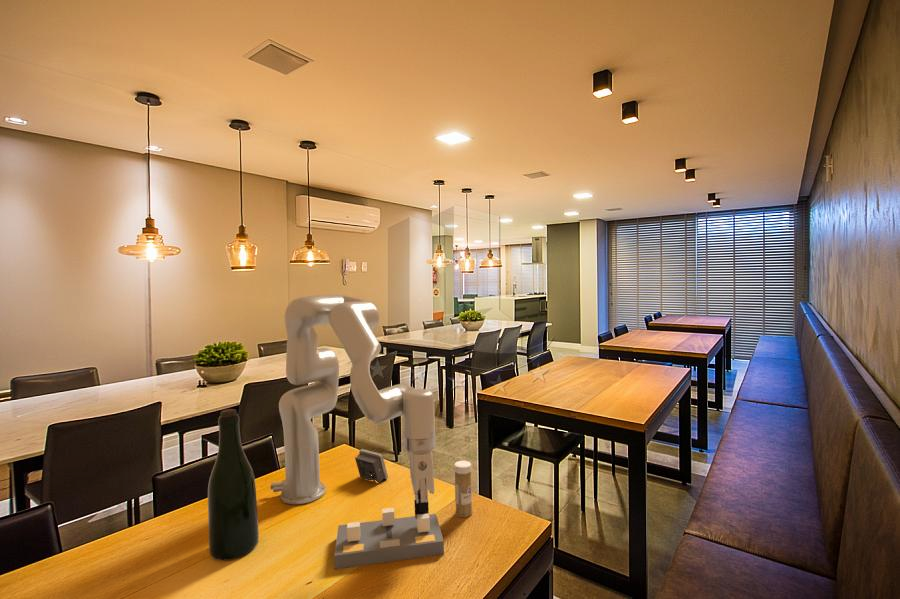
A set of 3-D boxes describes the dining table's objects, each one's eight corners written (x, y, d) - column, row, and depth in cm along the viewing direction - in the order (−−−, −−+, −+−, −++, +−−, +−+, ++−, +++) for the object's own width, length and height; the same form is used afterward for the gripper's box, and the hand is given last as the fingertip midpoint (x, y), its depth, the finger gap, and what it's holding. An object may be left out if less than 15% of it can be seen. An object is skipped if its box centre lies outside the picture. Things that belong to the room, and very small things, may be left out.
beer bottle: (204, 566, 96) (196, 419, 95) (215, 539, 106) (209, 406, 105) (255, 557, 99) (248, 414, 98) (262, 532, 109) (256, 402, 108)
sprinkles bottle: (470, 519, 112) (468, 467, 112) (453, 516, 114) (451, 466, 113) (474, 510, 117) (473, 460, 116) (458, 507, 118) (456, 459, 118)
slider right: (417, 532, 101) (417, 519, 101) (417, 527, 103) (416, 514, 103) (429, 531, 101) (429, 517, 101) (428, 526, 103) (428, 513, 103)
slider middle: (382, 526, 104) (382, 513, 104) (382, 521, 106) (382, 508, 106) (394, 524, 104) (394, 511, 104) (394, 520, 106) (393, 507, 106)
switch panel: (334, 569, 94) (334, 555, 94) (338, 537, 106) (338, 525, 106) (444, 554, 98) (443, 540, 98) (436, 525, 110) (436, 513, 110)
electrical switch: (388, 479, 136) (385, 451, 135) (377, 488, 132) (374, 459, 131) (367, 473, 142) (364, 446, 140) (355, 481, 137) (352, 453, 136)
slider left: (347, 541, 98) (346, 527, 98) (348, 536, 100) (347, 523, 100) (360, 540, 98) (359, 526, 98) (360, 535, 100) (359, 521, 100)
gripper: (439, 452, 97) (441, 532, 98) (431, 430, 112) (432, 499, 113) (406, 455, 96) (408, 536, 97) (401, 432, 111) (404, 503, 111)
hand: (421, 516), depth 105 cm, fingers closed
